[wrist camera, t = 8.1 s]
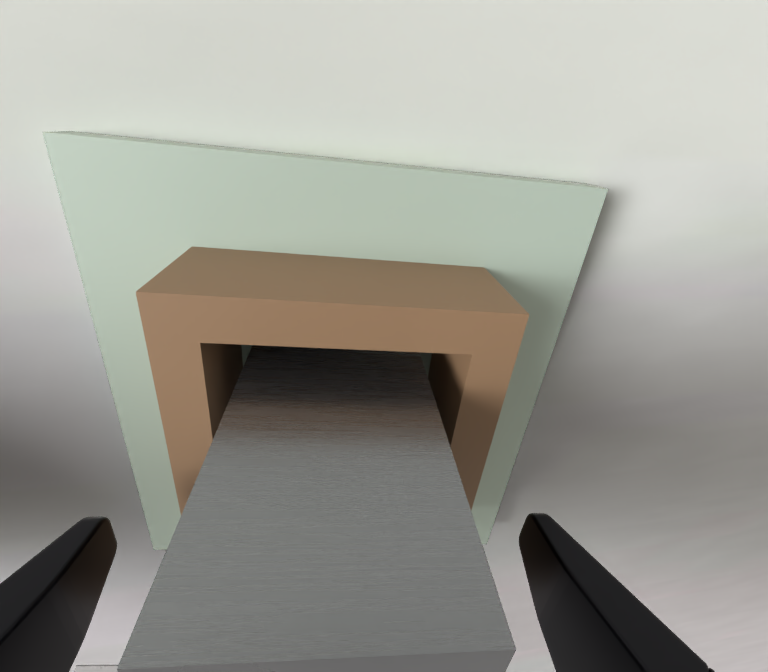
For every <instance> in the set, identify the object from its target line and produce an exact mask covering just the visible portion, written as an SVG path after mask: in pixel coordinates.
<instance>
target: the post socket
mask: <svg viewBox="0 0 768 672" xmlns="http://www.w3.org/2000/svg"><path fill="white" fill-rule="evenodd" d="M42 133H43V136H44V140H45V144H46V148H47V151H48V155H49V159H50V163H51V166H52V170H53V174H54V178H55V181H56V185H57V189H58V193H59V196H60V200H61V204H62V208H63V211H64V215H65V219H66V223H67V226H68V230H69V234H70V238H71V241H72V245H73V249H74V253H75V256H76V260H77V264H78V268H79V271H80V275H81V279H82V283H83V286H84V290H85V294H86V298H87V301H88V305H89V309H90V313H91V316H92V320H93V324H94V328H95V331H96V335H97V339H98V343H99V346H100V350H101V354H102V358H103V362H104V365H105V369H106V373H107V377H108V380H109V384H110V388H111V392H112V395H113V399H114V403H115V407H116V410H117V414H118V418H119V422H120V425H121V429H122V433H123V437H124V440H125V444H126V448H127V452H128V455H129V459H130V463H131V467H132V470H133V474H134V478H135V482H136V485H137V489H138V493H139V497H140V500H141V504H142V508H143V512H144V515H145V519H146V523H147V527H148V530H149V534H150V538H151V542H152V545H153V549H154V550H167V548H168V546H169V543H170V541H171V539H172V536H173V534H174V531H175V529H176V527H177V524H178V522H179V519H180V517H181V515H182V512H183V510H184V507H185V505H186V503H187V500H188V498H189V496H190V493H191V491H192V488H193V486H194V484H195V481H196V479H197V476H198V474H199V472H200V469H201V467H202V464H203V462H204V460H205V457H206V455H207V453H208V450H209V448H210V445H211V443H212V441H213V438H214V436H215V433H216V431H217V429H218V426H219V424H220V421H221V419H222V417H223V414H224V412H225V409H226V407H227V405H228V402H229V400H230V398H231V395H232V393H233V390H234V388H235V386H236V383H237V381H238V378H239V376H240V374H241V371H242V369H243V366H244V364H245V362H246V359H247V357H248V354H249V352H250V350H251V347H252V345H262V346H285V347H308V348H331V349H354V350H377V351H400V352H420V355H421V358H422V361H423V364H424V367H425V370H426V374H427V377H428V380H429V383H430V386H431V389H432V392H433V395H434V398H435V401H436V404H437V407H438V411H439V414H440V417H441V420H442V423H443V426H444V429H445V432H446V435H447V438H448V441H449V444H450V447H451V451H452V454H453V457H454V460H455V463H456V466H457V469H458V472H459V475H460V478H461V481H462V484H463V488H464V491H465V494H466V497H467V500H468V503H469V506H470V509H471V512H472V515H473V518H474V521H475V525H476V528H477V531H478V534H479V537H480V540H481V543H482V544H487V542H488V539H489V536H490V533H491V530H492V527H493V524H494V521H495V518H496V516H497V513H498V510H499V507H500V504H501V501H502V498H503V495H504V492H505V489H506V486H507V483H508V480H509V478H510V475H511V472H512V469H513V466H514V463H515V460H516V457H517V454H518V451H519V448H520V445H521V443H522V440H523V437H524V434H525V431H526V428H527V425H528V422H529V419H530V416H531V413H532V410H533V407H534V405H535V402H536V399H537V396H538V393H539V390H540V387H541V384H542V381H543V378H544V375H545V372H546V370H547V367H548V364H549V361H550V358H551V355H552V352H553V349H554V346H555V343H556V340H557V337H558V334H559V332H560V329H561V326H562V323H563V320H564V317H565V314H566V311H567V308H568V305H569V302H570V299H571V297H572V294H573V291H574V288H575V285H576V282H577V279H578V276H579V273H580V270H581V267H582V264H583V261H584V259H585V256H586V253H587V250H588V247H589V244H590V241H591V238H592V235H593V232H594V229H595V226H596V224H597V221H598V218H599V215H600V212H601V209H602V206H603V203H604V200H605V197H606V194H607V191H608V189H606V188H602V187H598V186H594V185H590V184H585V183H575V182H565V181H555V180H545V179H536V178H526V177H516V176H506V175H496V174H487V173H477V172H467V171H457V170H447V169H437V168H428V167H418V166H408V165H398V164H388V163H378V162H369V161H359V160H349V159H339V158H329V157H320V156H310V155H300V154H290V153H280V152H270V151H261V150H251V149H241V148H231V147H221V146H211V145H202V144H192V143H182V142H172V141H162V140H152V139H143V138H133V137H123V136H113V135H103V134H94V133H84V132H74V131H61V132H42Z"/></svg>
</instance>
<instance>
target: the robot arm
mask: <svg viewBox="0 0 768 672" xmlns="http://www.w3.org/2000/svg"><path fill="white" fill-rule="evenodd" d="M519 546H520V550H521V554H522V558H523V562H524V566H525V570H526V574H527V578H528V582H529V586H530V590H531V594H532V598H533V602H534V606H535V610H536V613H537V617H538V620H539V623H540V626H541V630H542V632H543V635H544V638H545V641H546V644H547V647H548V649H549V652H550V655H551V658H552V661H553V664H554V667H555V669H556V672H715V671H714V670H712V669H711V668H708V666H707V664H706V663H705V662H704V661H703V660H702V659H701V658H700V657H699V656H697V655H696V654H695V653H694V652H693V651H692V650H691V649H690V648H689V647H688V646H687V645H686V644H685V643H684V642H683V641H682V640H680V639H679V638H678V637H677V636H676V635H675V634H674V633H673V632H672V631H671V630H670V629H669V628H668V627H667V626H666V625H665V624H664V623H662V622H661V621H660V620H659V619H658V618H657V617H656V616H655V615H654V614H653V613H652V612H651V611H650V610H649V609H648V608H647V607H646V606H644V605H643V604H642V603H641V602H640V601H639V600H638V599H637V598H636V597H635V596H634V595H633V594H632V593H631V592H630V591H629V590H627V589H626V588H625V587H624V586H623V585H622V584H621V583H620V582H619V581H618V580H617V579H616V578H615V577H614V576H613V575H612V574H611V573H609V572H608V571H607V570H606V569H605V568H604V567H603V566H602V565H601V564H600V563H599V562H598V561H597V560H596V559H595V558H594V557H593V556H591V555H590V554H589V553H588V552H587V551H586V550H585V549H584V548H583V547H582V546H581V545H580V544H579V543H578V542H577V541H576V540H574V539H573V538H572V537H571V536H570V535H569V534H568V533H567V532H566V531H565V530H564V529H563V528H562V527H561V526H560V525H559V524H558V523H556V522H555V521H554V520H553V519H552V518H551V517H550V516H549V515H547V514H544V513H531V514H529V515H528V516H527V518H526V520H525V523H524V525H523V528H522V530H521V533H520V536H519ZM116 549H117V542H116V538H115V535H114V532H113V529H112V526H111V523H110V520H109V519H108V518H107V517H86V518H84V519H82V520H80V521H79V522H78V523H76V524H75V525H74V526H72V527H71V528H70V529H69V530H67V531H66V532H65V533H64V534H62V535H61V536H60V537H59V538H57V539H56V540H55V541H54V542H52V543H51V544H50V545H49V546H47V547H46V548H45V549H44V550H42V551H41V552H40V553H38V554H37V555H36V556H35V557H33V558H32V559H31V560H30V561H28V562H27V563H26V564H25V565H23V566H22V567H21V568H20V569H18V570H17V571H16V572H15V573H13V574H12V575H11V576H10V577H8V578H7V579H6V580H5V581H3V582H2V583H1V584H0V672H69V670H70V668H71V666H72V664H73V662H74V660H75V658H76V656H77V654H78V651H79V649H80V647H81V645H82V642H83V640H84V638H85V635H86V633H87V630H88V628H89V625H90V622H91V620H92V617H93V614H94V611H95V609H96V606H97V603H98V600H99V598H100V595H101V592H102V590H103V587H104V584H105V581H106V579H107V576H108V573H109V570H110V568H111V565H112V562H113V559H114V557H115V554H116Z"/></svg>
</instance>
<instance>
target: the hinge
mask: <svg viewBox="0 0 768 672" xmlns="http://www.w3.org/2000/svg"><path fill="white" fill-rule="evenodd" d="M117 668H118V665H116V666H76V668H75V670H74V672H118V671H117Z"/></svg>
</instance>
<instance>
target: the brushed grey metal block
mask: <svg viewBox="0 0 768 672" xmlns="http://www.w3.org/2000/svg"><path fill="white" fill-rule="evenodd" d="M515 651H516V648H515V645H514V642H513V638H512V635H511V632H510V629H509V626H508V623H507V620H506V617H505V614H504V611H503V608H502V605H501V602H500V598H499V595H498V592H497V589H496V586H495V583H494V580H493V577H492V574H491V571H490V568H489V565H488V561H487V558H486V555H485V552H484V549H483V546H482V543H481V540H480V537H479V534H478V531H477V528H476V525H475V521H474V518H473V515H472V512H471V509H470V506H469V503H468V500H467V497H466V494H465V491H464V488H463V484H462V481H461V478H460V475H459V472H458V469H457V466H456V463H455V460H454V457H453V454H452V451H451V447H450V444H449V441H448V438H447V435H446V432H445V429H444V426H443V423H442V420H441V417H440V414H439V411H438V407H437V404H436V401H435V398H434V395H433V392H432V389H431V386H430V383H429V380H428V377H427V374H426V370H425V367H424V364H423V361H422V358H421V355H420V352H400V351H377V350H354V349H331V348H308V347H285V346H262V345H252V347H251V350H250V352H249V354H248V357H247V359H246V362H245V364H244V366H243V369H242V371H241V374H240V376H239V378H238V381H237V383H236V386H235V388H234V390H233V393H232V395H231V398H230V400H229V402H228V405H227V407H226V409H225V412H224V414H223V417H222V419H221V421H220V424H219V426H218V429H217V431H216V433H215V436H214V438H213V441H212V443H211V445H210V448H209V450H208V453H207V455H206V457H205V460H204V462H203V464H202V467H201V469H200V472H199V474H198V476H197V479H196V481H195V484H194V486H193V488H192V491H191V493H190V496H189V498H188V500H187V503H186V505H185V507H184V510H183V512H182V515H181V517H180V519H179V522H178V524H177V527H176V529H175V531H174V534H173V536H172V539H171V541H170V543H169V546H168V548H167V551H166V553H165V555H164V558H163V560H162V562H161V565H160V567H159V570H158V572H157V574H156V577H155V579H154V582H153V584H152V586H151V589H150V591H149V594H148V596H147V598H146V601H145V603H144V606H143V608H142V610H141V613H140V615H139V617H138V620H137V622H136V625H135V627H134V629H133V632H132V634H131V637H130V639H129V641H128V644H127V646H126V649H125V651H124V653H123V656H122V658H121V661H120V663H119V665H118V668H117V671H118V672H505V671H506V669H507V667H508V665H509V663H510V661H511V659H512V657H513V655H514V653H515Z"/></svg>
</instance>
